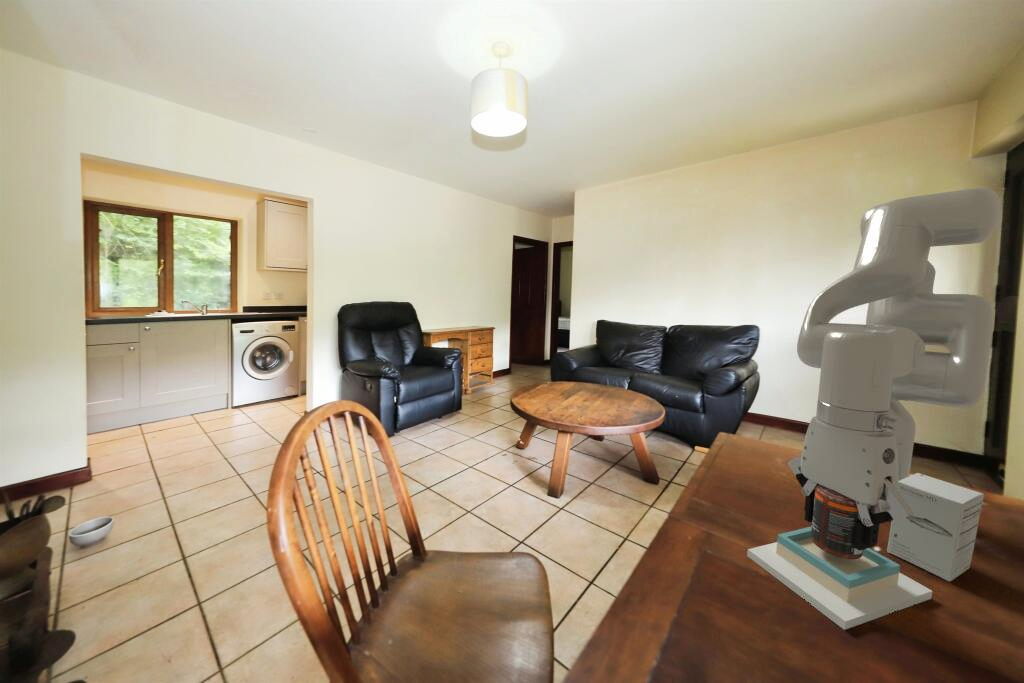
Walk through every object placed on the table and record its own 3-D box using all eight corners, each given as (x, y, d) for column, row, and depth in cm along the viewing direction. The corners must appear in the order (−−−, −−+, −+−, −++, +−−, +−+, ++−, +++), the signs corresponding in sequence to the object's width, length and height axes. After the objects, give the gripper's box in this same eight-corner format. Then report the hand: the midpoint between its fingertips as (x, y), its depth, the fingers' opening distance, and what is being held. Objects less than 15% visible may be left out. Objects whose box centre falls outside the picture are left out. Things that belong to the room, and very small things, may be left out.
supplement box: (884, 552, 61) (894, 479, 60) (907, 540, 64) (917, 471, 63) (950, 584, 55) (963, 503, 53) (972, 569, 57) (985, 492, 56)
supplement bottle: (873, 564, 52) (883, 488, 51) (825, 559, 54) (833, 484, 52) (845, 537, 58) (853, 468, 57) (802, 532, 59) (808, 465, 58)
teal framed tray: (823, 536, 65) (825, 513, 65) (931, 598, 52) (935, 569, 51) (747, 556, 61) (749, 531, 60) (844, 629, 47) (848, 598, 47)
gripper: (951, 435, 46) (931, 568, 48) (807, 397, 62) (797, 498, 65) (911, 442, 44) (892, 581, 46) (773, 401, 60) (764, 505, 63)
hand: (837, 531), depth 56 cm, fingers closed on supplement bottle, 5 cm apart
